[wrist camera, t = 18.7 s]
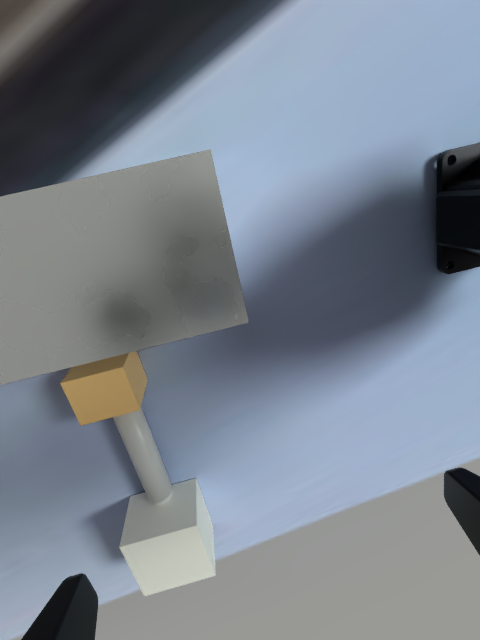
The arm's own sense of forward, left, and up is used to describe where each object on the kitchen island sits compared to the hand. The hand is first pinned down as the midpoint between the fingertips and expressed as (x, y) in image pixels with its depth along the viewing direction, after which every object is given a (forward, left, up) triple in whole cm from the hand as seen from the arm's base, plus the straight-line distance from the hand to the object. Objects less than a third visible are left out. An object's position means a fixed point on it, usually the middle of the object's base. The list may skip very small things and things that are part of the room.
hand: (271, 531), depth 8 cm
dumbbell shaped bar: (+7, +7, -12) cm, 15 cm away
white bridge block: (+7, -6, -12) cm, 15 cm away
